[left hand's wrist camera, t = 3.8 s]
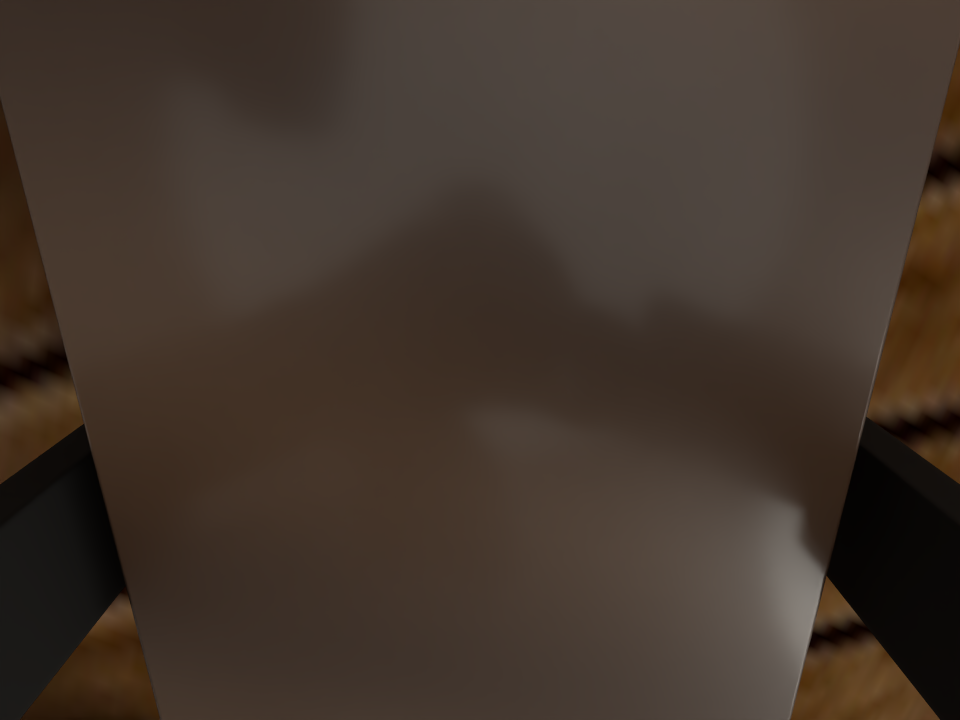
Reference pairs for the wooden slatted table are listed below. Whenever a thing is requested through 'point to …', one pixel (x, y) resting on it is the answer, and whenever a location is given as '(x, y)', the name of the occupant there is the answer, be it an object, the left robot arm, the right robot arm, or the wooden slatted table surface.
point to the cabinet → (474, 333)
